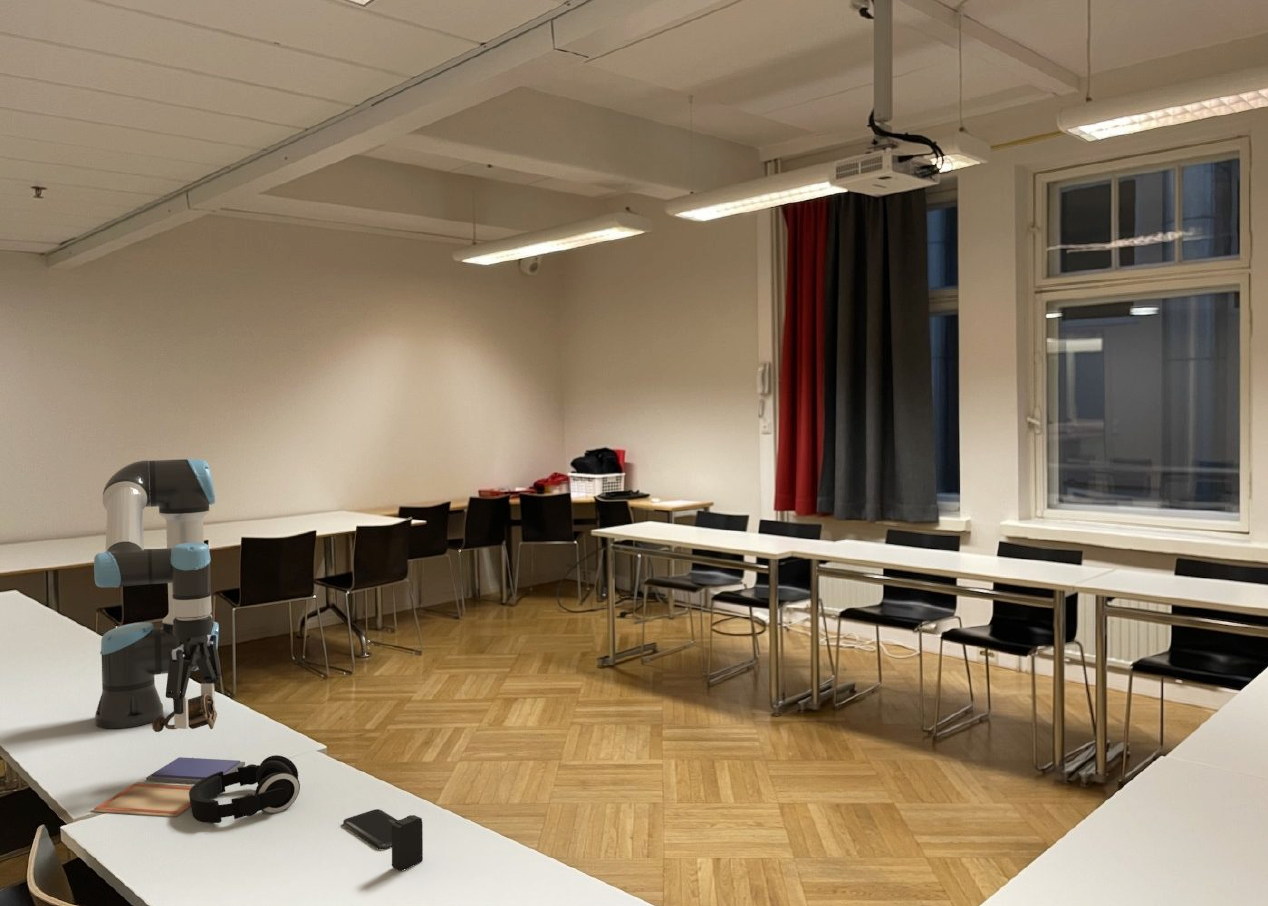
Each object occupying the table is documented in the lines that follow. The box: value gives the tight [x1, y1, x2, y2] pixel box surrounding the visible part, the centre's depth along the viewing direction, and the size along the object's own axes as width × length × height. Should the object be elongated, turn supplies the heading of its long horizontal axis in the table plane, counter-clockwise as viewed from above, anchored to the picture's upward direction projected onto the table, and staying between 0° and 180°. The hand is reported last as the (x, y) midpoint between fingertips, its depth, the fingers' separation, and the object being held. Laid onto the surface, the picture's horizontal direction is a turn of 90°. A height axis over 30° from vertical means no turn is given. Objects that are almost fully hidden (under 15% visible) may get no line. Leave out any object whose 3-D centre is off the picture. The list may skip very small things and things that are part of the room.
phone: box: [343, 809, 399, 850], centre depth 180 cm, size 8×1×15 cm
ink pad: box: [145, 756, 246, 785], centre depth 208 cm, size 11×16×1 cm
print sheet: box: [90, 782, 194, 818], centre depth 194 cm, size 14×18×1 cm
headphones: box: [189, 754, 301, 824], centre depth 191 cm, size 18×8×20 cm
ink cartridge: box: [391, 814, 424, 872], centre depth 167 cm, size 5×2×8 cm, turn 141°
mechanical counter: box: [151, 694, 218, 733], centre depth 207 cm, size 7×13×10 cm
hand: (195, 720), depth 207 cm, fingers closed on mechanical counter, 9 cm apart
